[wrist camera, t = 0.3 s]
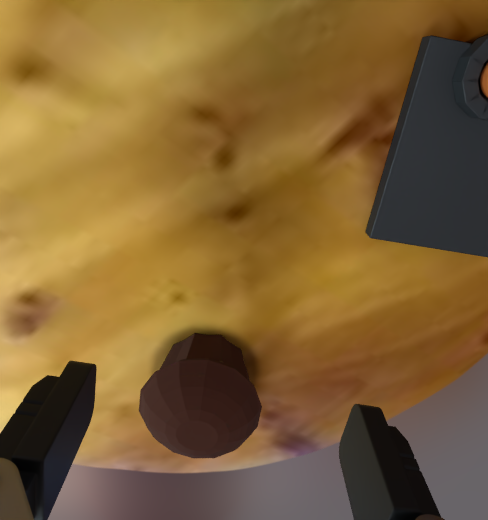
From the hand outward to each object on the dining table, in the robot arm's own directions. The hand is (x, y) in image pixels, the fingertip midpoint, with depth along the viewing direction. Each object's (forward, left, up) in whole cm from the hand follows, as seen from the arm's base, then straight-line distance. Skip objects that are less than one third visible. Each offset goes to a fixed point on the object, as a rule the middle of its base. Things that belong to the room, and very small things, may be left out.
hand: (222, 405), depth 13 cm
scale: (-6, +19, -29) cm, 35 cm away
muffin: (+20, 0, -29) cm, 35 cm away
